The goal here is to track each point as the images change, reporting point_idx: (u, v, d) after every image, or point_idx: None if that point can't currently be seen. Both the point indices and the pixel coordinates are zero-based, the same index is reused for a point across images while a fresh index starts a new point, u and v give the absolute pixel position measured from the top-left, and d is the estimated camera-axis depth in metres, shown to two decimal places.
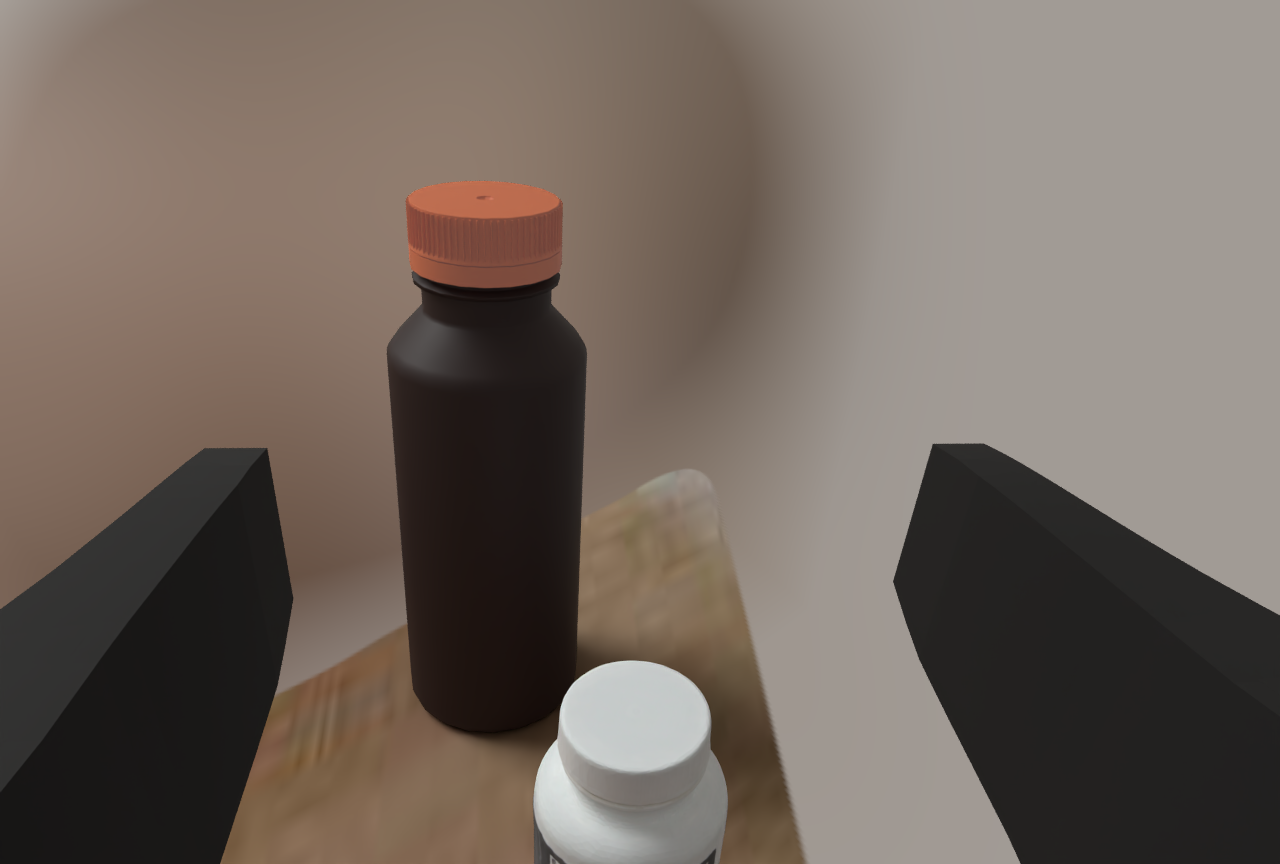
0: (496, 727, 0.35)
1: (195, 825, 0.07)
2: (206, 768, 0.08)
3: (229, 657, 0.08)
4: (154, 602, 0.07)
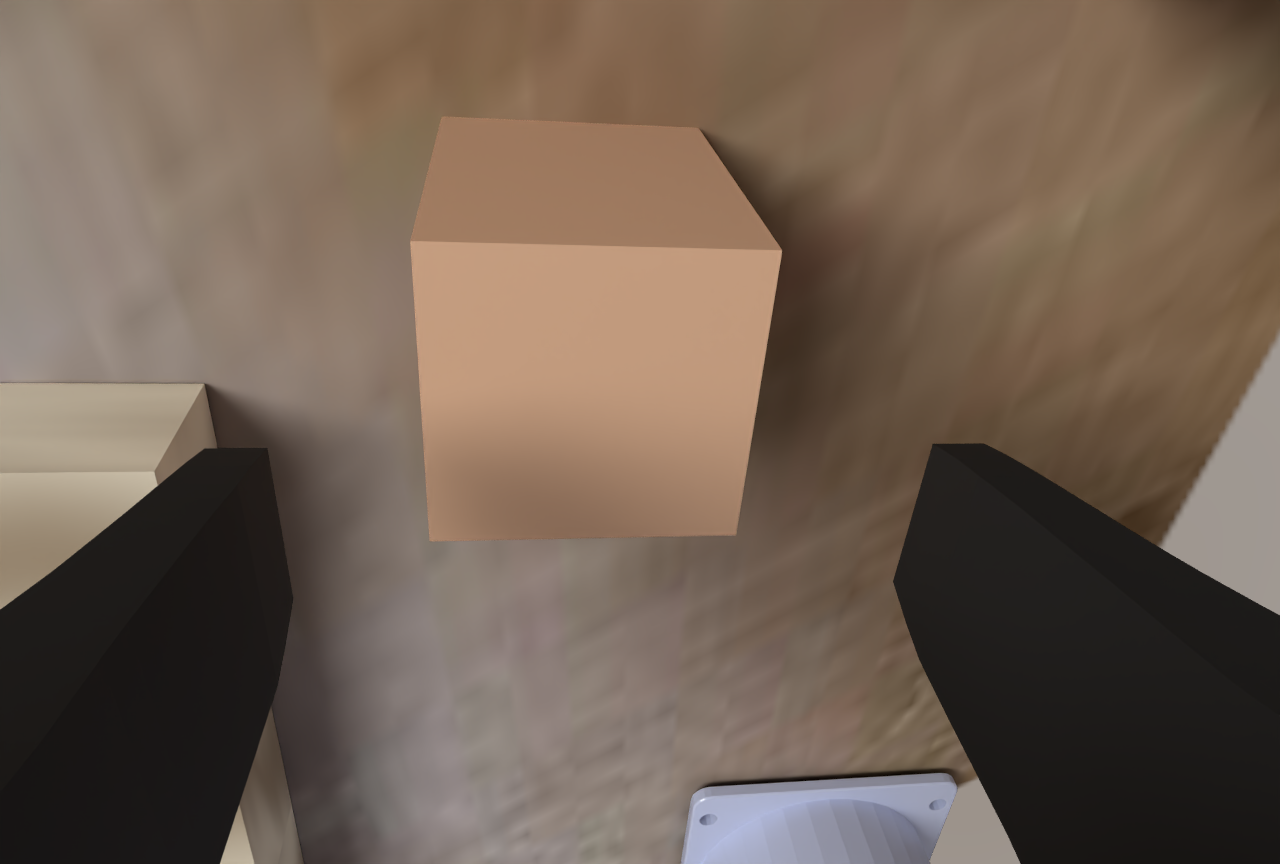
0: None
1: (195, 825, 0.07)
2: (206, 768, 0.08)
3: (229, 657, 0.08)
4: (154, 602, 0.07)
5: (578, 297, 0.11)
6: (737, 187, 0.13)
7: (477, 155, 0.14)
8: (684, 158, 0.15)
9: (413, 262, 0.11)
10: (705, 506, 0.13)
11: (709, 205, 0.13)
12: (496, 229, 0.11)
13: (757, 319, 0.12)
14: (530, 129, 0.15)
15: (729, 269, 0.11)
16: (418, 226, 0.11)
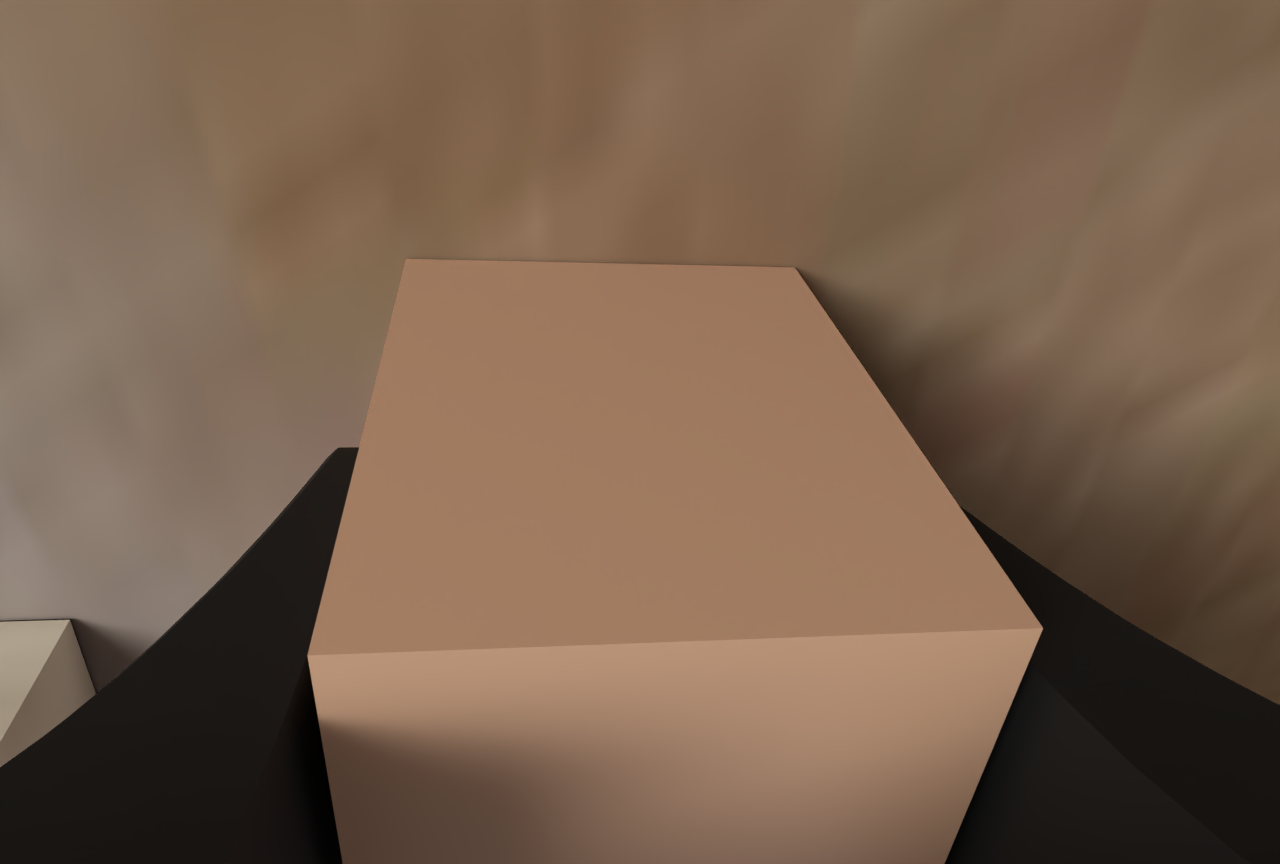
0: None
1: None
2: None
3: None
4: None
5: (647, 720, 0.06)
6: (897, 421, 0.08)
7: (456, 357, 0.08)
8: (792, 344, 0.09)
9: (316, 689, 0.05)
10: None
11: (866, 479, 0.07)
12: (485, 593, 0.06)
13: (976, 729, 0.06)
14: (542, 284, 0.10)
15: (937, 662, 0.06)
16: (333, 596, 0.06)
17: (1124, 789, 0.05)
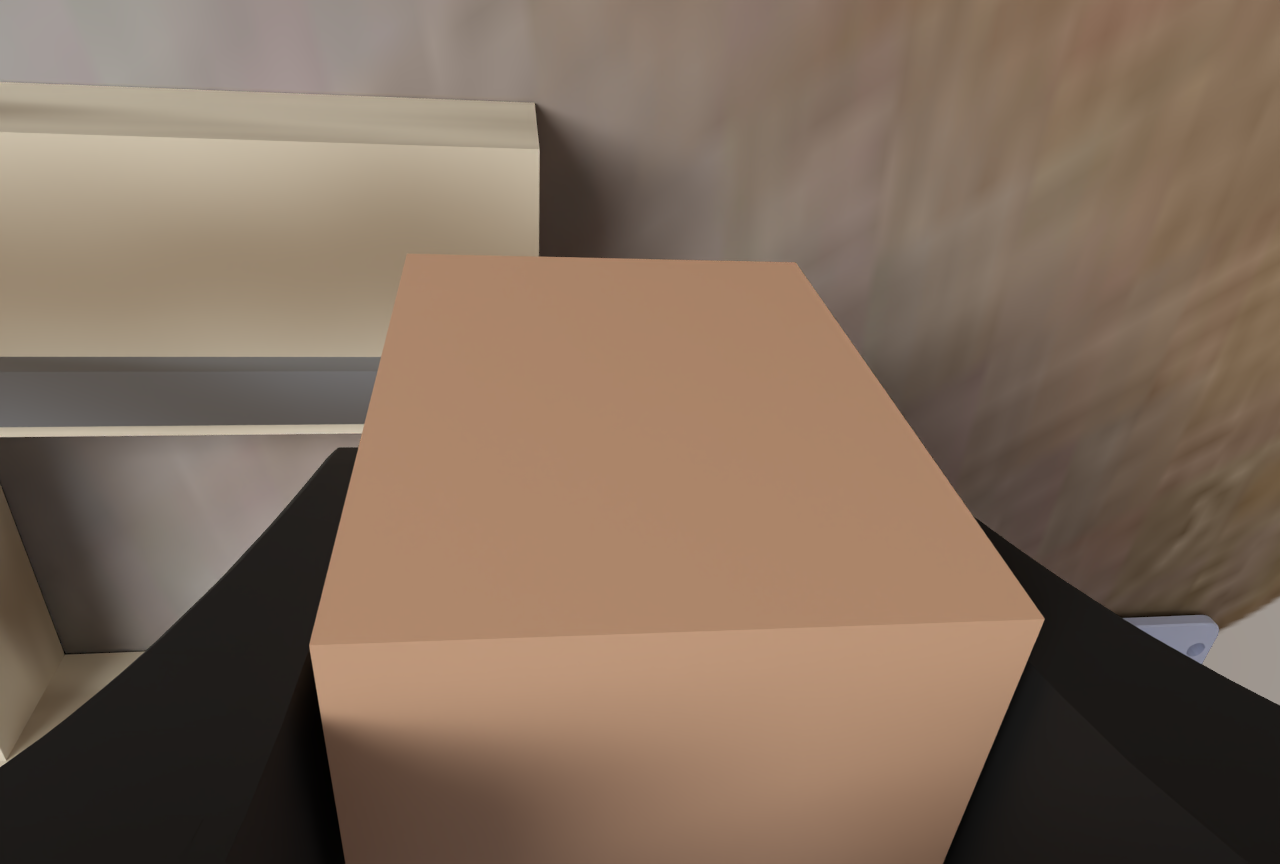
0: None
1: None
2: None
3: None
4: None
5: (647, 710, 0.06)
6: (898, 414, 0.08)
7: (456, 351, 0.08)
8: (793, 339, 0.09)
9: (317, 679, 0.05)
10: None
11: (868, 471, 0.07)
12: (488, 583, 0.06)
13: (978, 720, 0.06)
14: (543, 279, 0.10)
15: (938, 653, 0.06)
16: (333, 587, 0.06)
17: (1123, 788, 0.05)
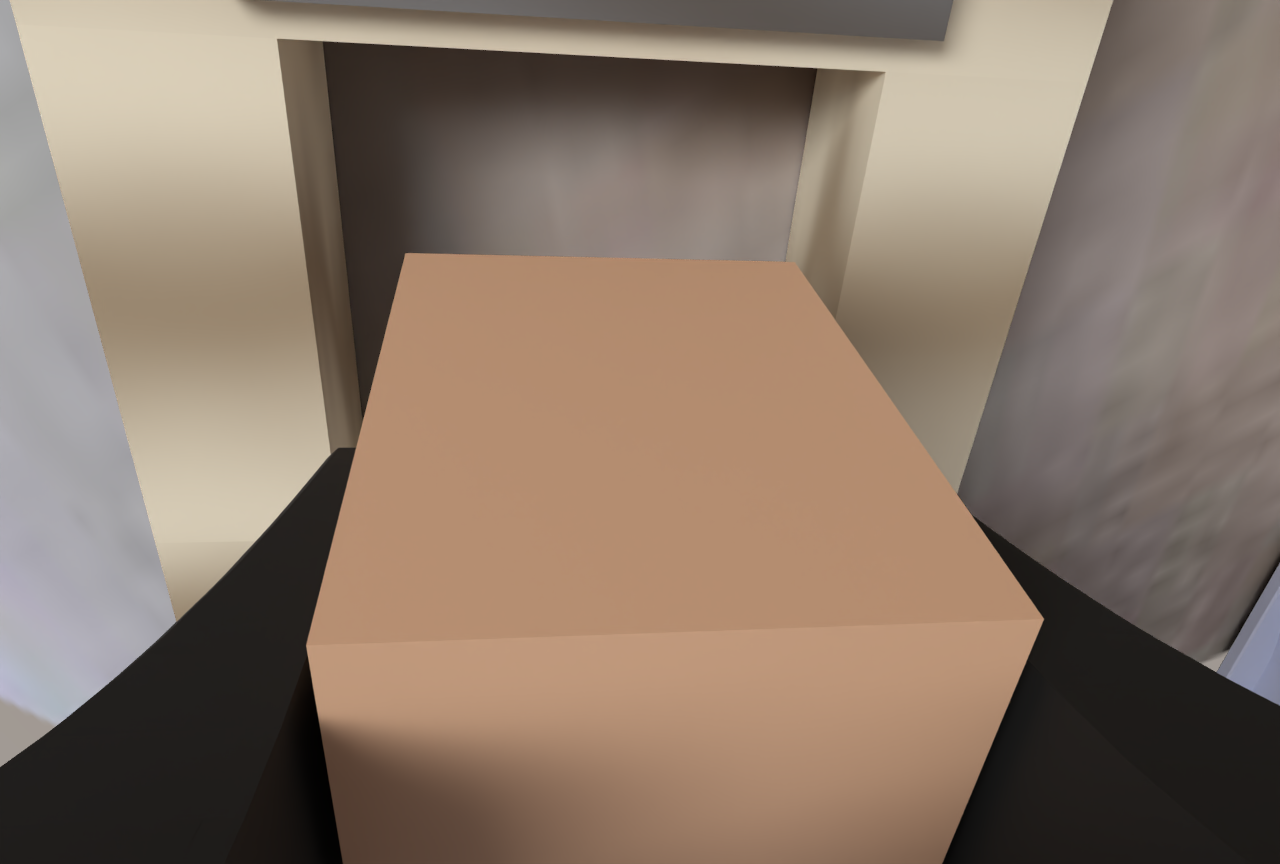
0: None
1: None
2: None
3: None
4: None
5: (646, 710, 0.06)
6: (897, 413, 0.08)
7: (456, 350, 0.08)
8: (791, 338, 0.09)
9: (315, 679, 0.05)
10: None
11: (867, 471, 0.07)
12: (485, 582, 0.06)
13: (977, 720, 0.06)
14: (542, 278, 0.10)
15: (937, 653, 0.06)
16: (330, 587, 0.06)
17: (1122, 787, 0.05)
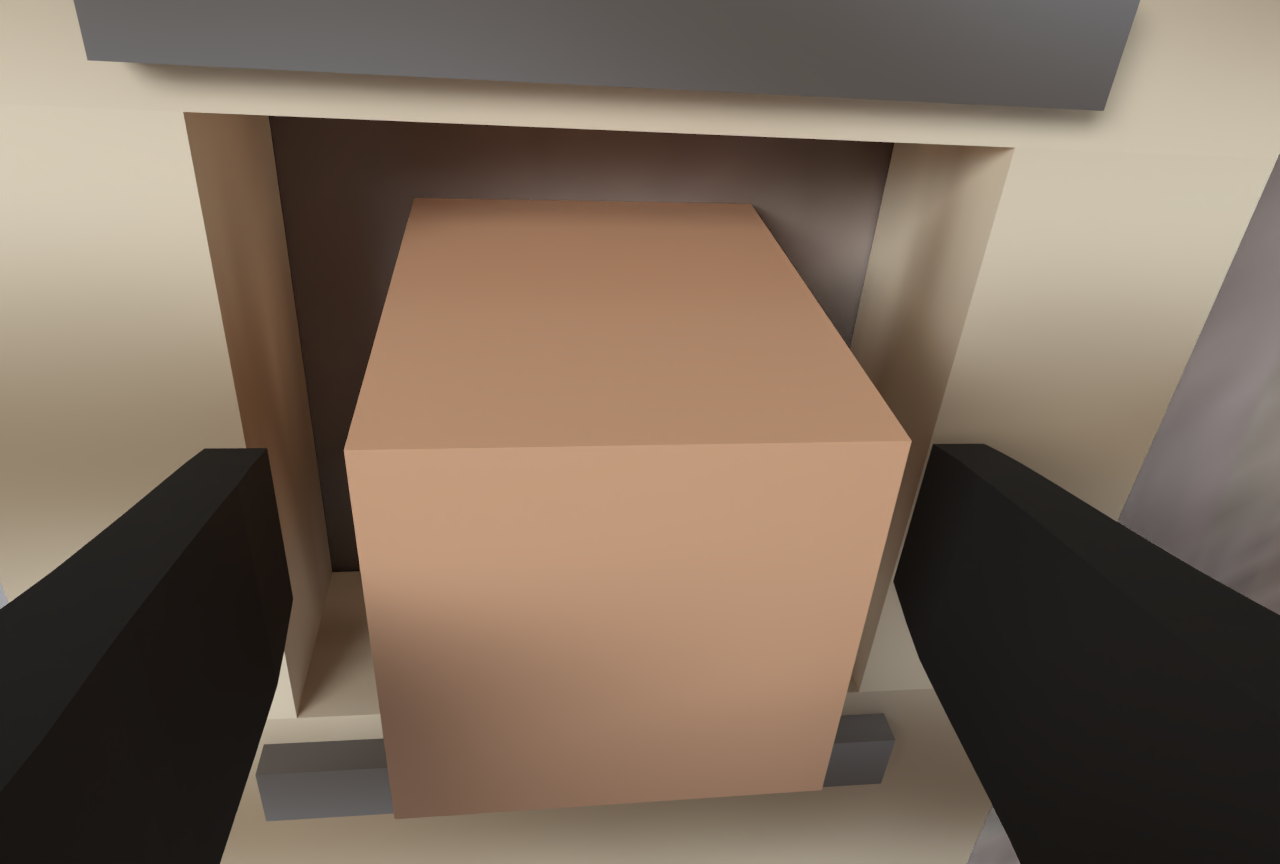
0: None
1: (195, 825, 0.07)
2: (206, 768, 0.08)
3: (229, 657, 0.08)
4: (154, 602, 0.07)
5: (604, 514, 0.07)
6: (820, 310, 0.10)
7: (457, 266, 0.10)
8: (740, 258, 0.11)
9: (350, 479, 0.07)
10: (781, 760, 0.09)
11: (788, 347, 0.09)
12: (478, 416, 0.07)
13: (868, 532, 0.08)
14: (531, 215, 0.12)
15: (830, 469, 0.08)
16: (359, 416, 0.07)
17: None
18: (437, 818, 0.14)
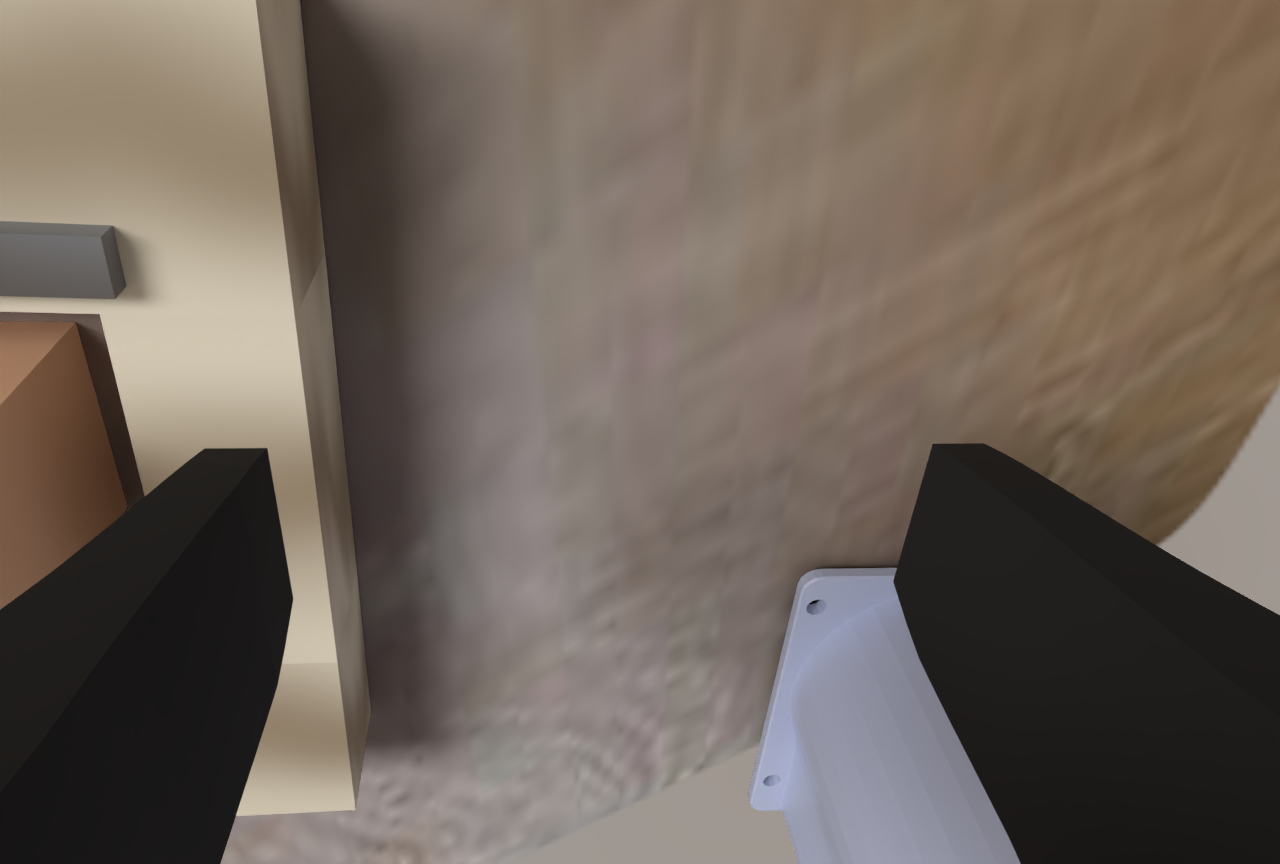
0: None
1: (195, 825, 0.07)
2: (206, 768, 0.08)
3: (229, 657, 0.08)
4: (154, 602, 0.07)
5: None
6: None
7: None
8: None
9: None
10: None
11: None
12: None
13: None
14: None
15: None
16: None
17: None
18: None
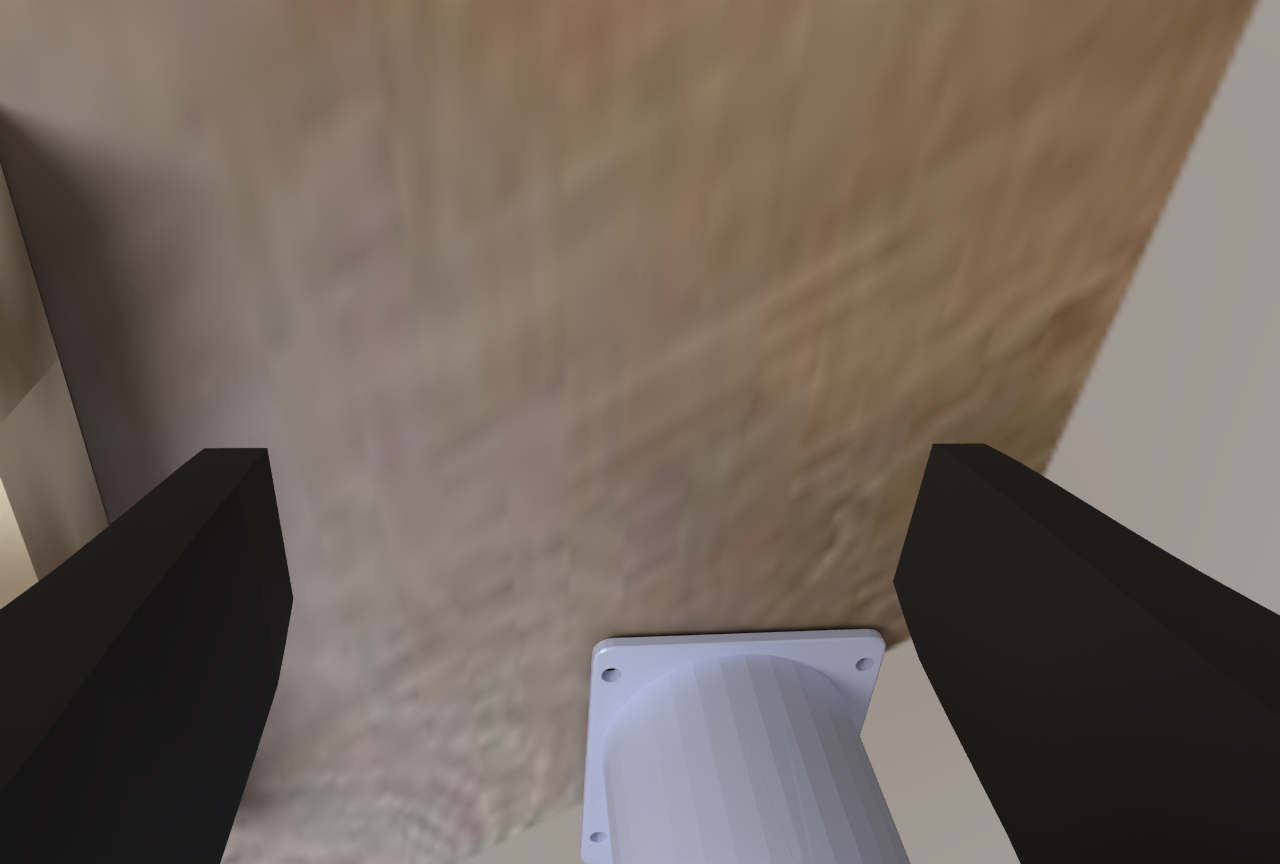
0: None
1: (195, 825, 0.07)
2: (206, 768, 0.08)
3: (229, 657, 0.08)
4: (153, 602, 0.07)
5: None
6: None
7: None
8: None
9: None
10: None
11: None
12: None
13: None
14: None
15: None
16: None
17: None
18: None
